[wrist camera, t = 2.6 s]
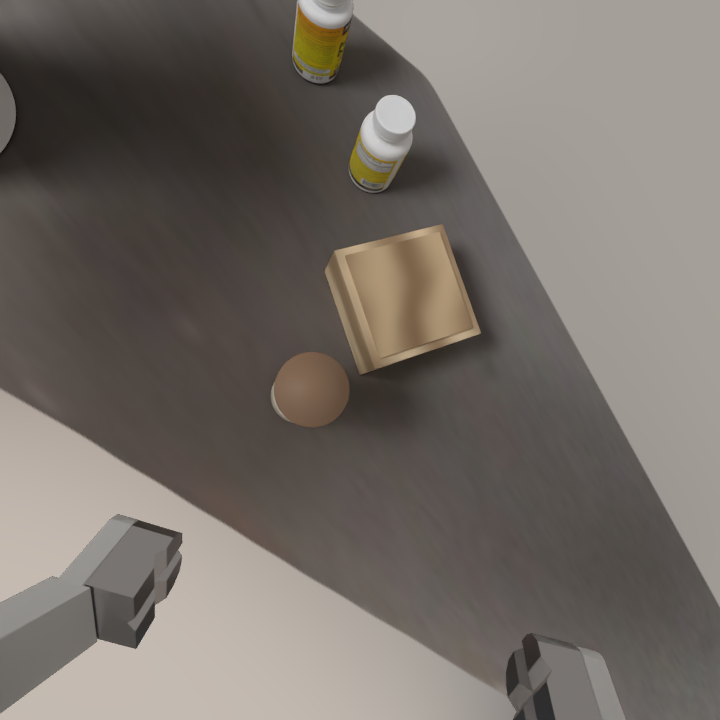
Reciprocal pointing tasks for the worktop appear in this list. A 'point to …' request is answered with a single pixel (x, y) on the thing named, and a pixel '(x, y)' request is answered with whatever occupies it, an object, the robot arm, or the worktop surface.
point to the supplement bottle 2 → (382, 144)
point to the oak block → (400, 297)
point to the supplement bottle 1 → (320, 37)
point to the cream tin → (310, 390)
